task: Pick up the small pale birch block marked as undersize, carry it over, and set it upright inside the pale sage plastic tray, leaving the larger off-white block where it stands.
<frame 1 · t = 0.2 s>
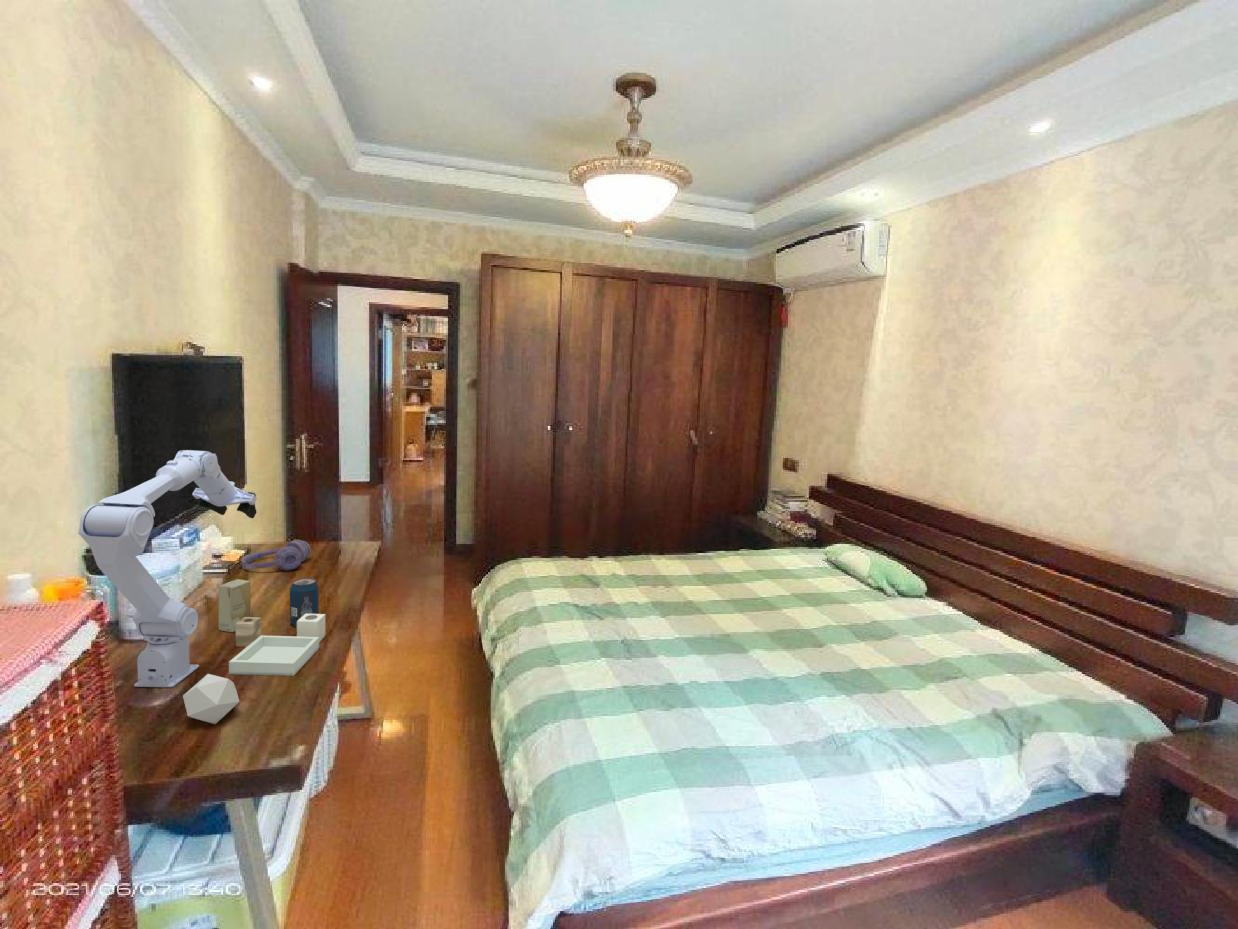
hand: (239, 513, 155), 31 cm above the table, tool tilted 45°, fingers open, 7 cm apart
birch block: (248, 643, 149), on the table
oversize block: (311, 639, 154), on the table
soda can: (304, 623, 163), on the table
headphones: (275, 566, 207), on the table
tray: (276, 660, 142), on the table
skincare box: (235, 627, 158), on the table
die: (212, 718, 118), on the table
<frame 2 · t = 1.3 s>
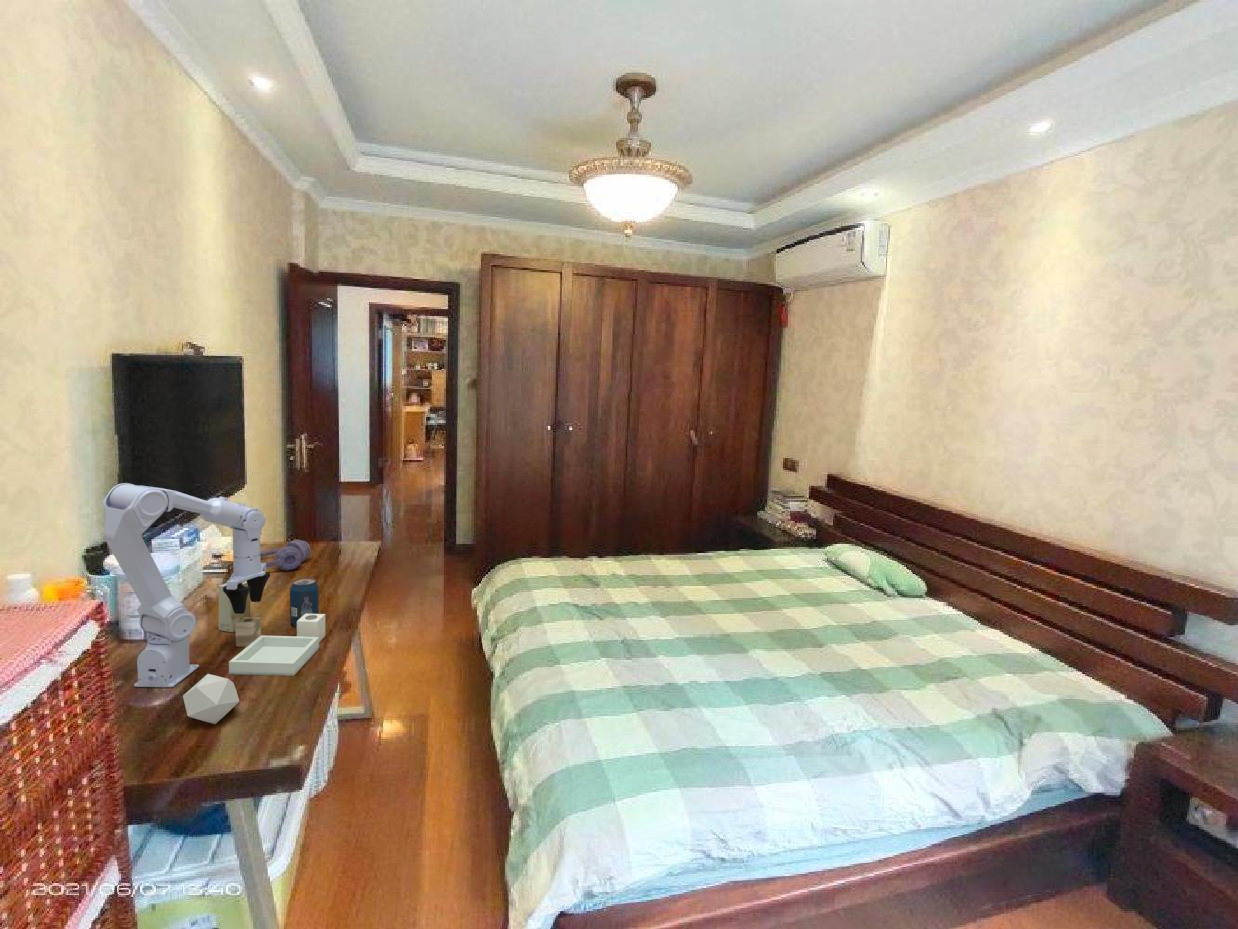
hand: (247, 607, 148), 9 cm above the table, tool pointing down, fingers open, 7 cm apart
nothing on the table moved.
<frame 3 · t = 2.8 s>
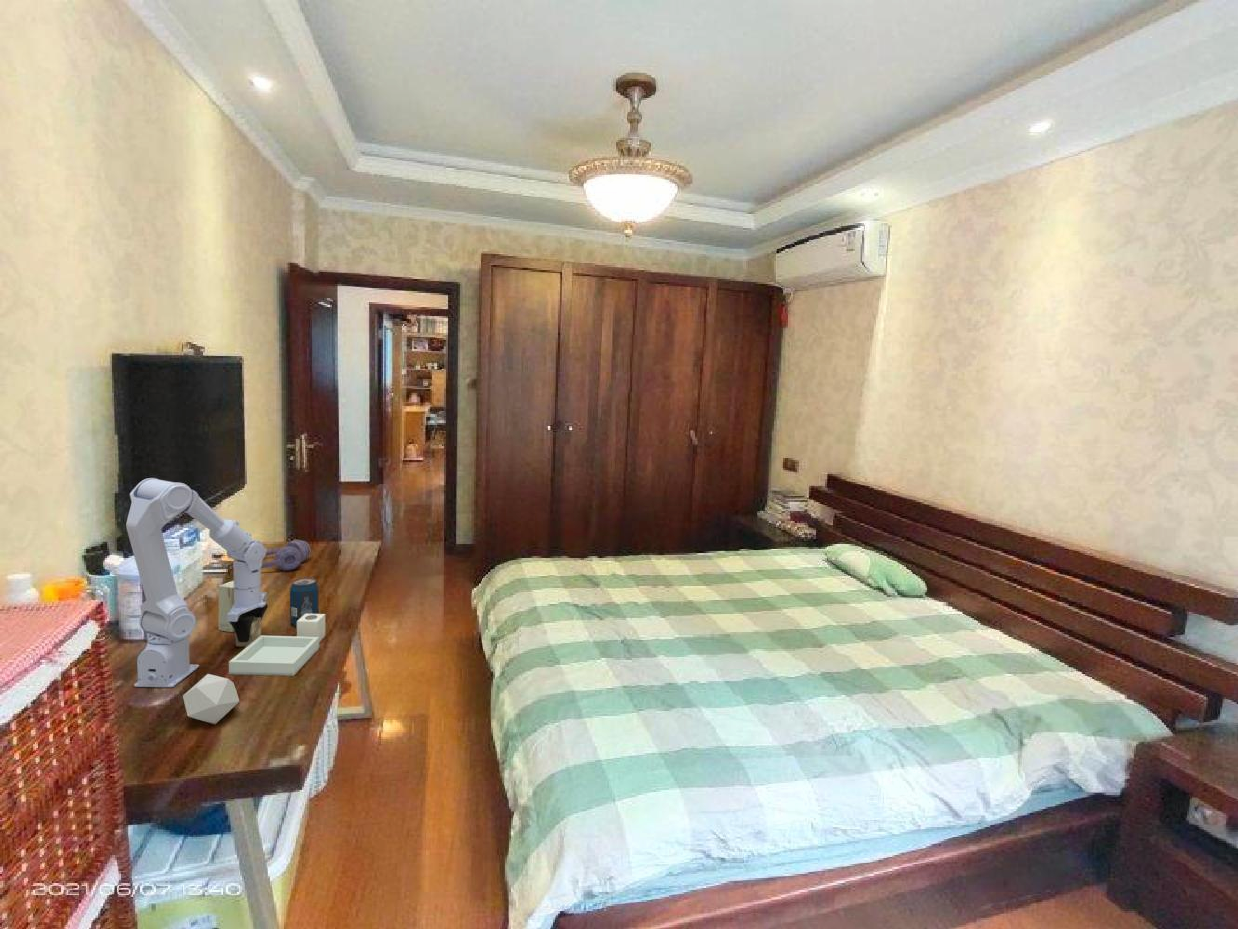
hand: (248, 637, 149), 1 cm above the table, tool pointing down, fingers closed on birch block, 4 cm apart
birch block: (248, 642, 149), on the table, touching gripper
everything else where it was.
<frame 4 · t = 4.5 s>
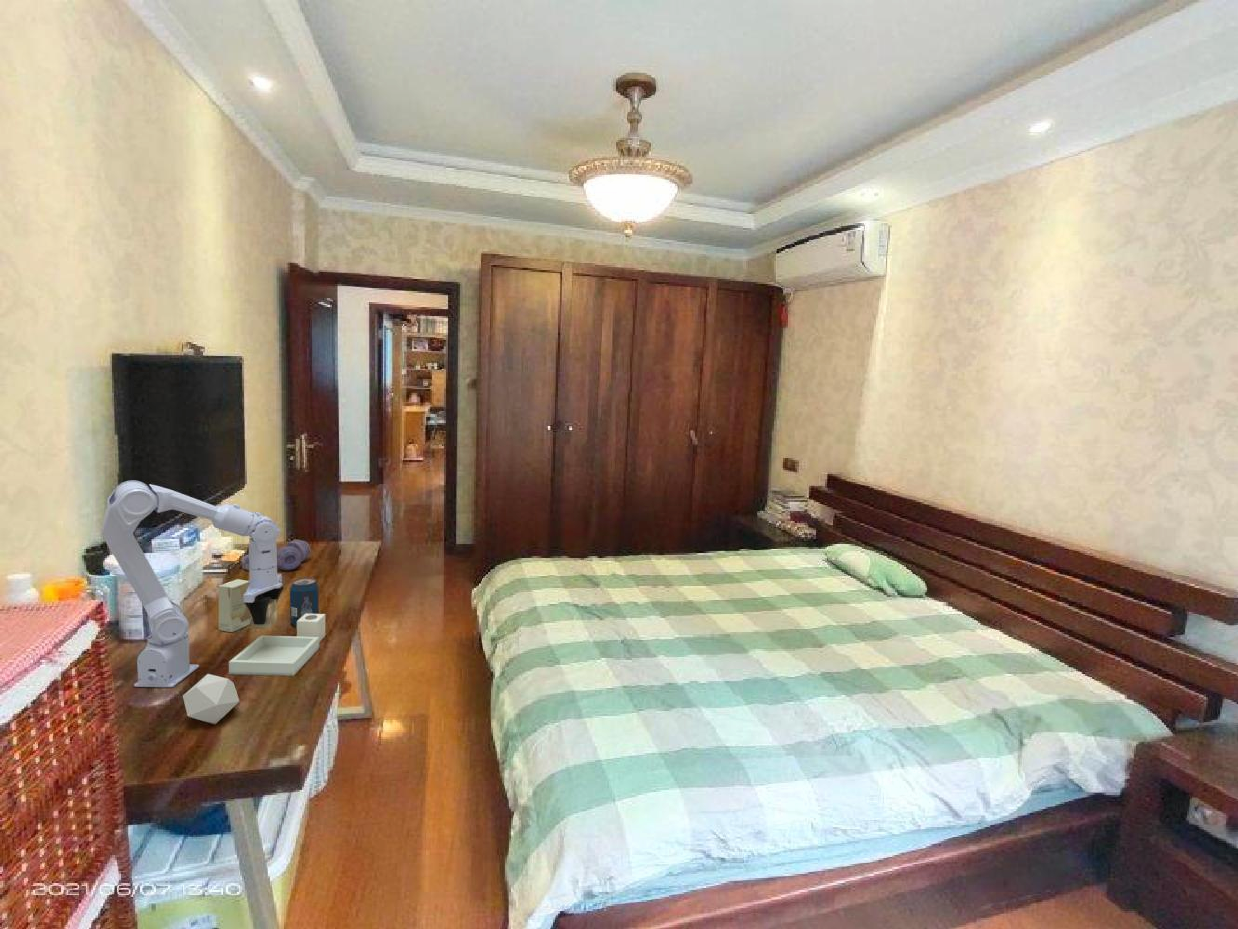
hand: (264, 620, 144), 8 cm above the table, tool pointing down, fingers closed on birch block, 4 cm apart
birch block: (264, 625, 144), point 7 cm above the table, touching gripper
everything else where it was.
when the fingers open (3 cm above the table, at t = 6.2 s): birch block drops 1 cm, resting on tray.
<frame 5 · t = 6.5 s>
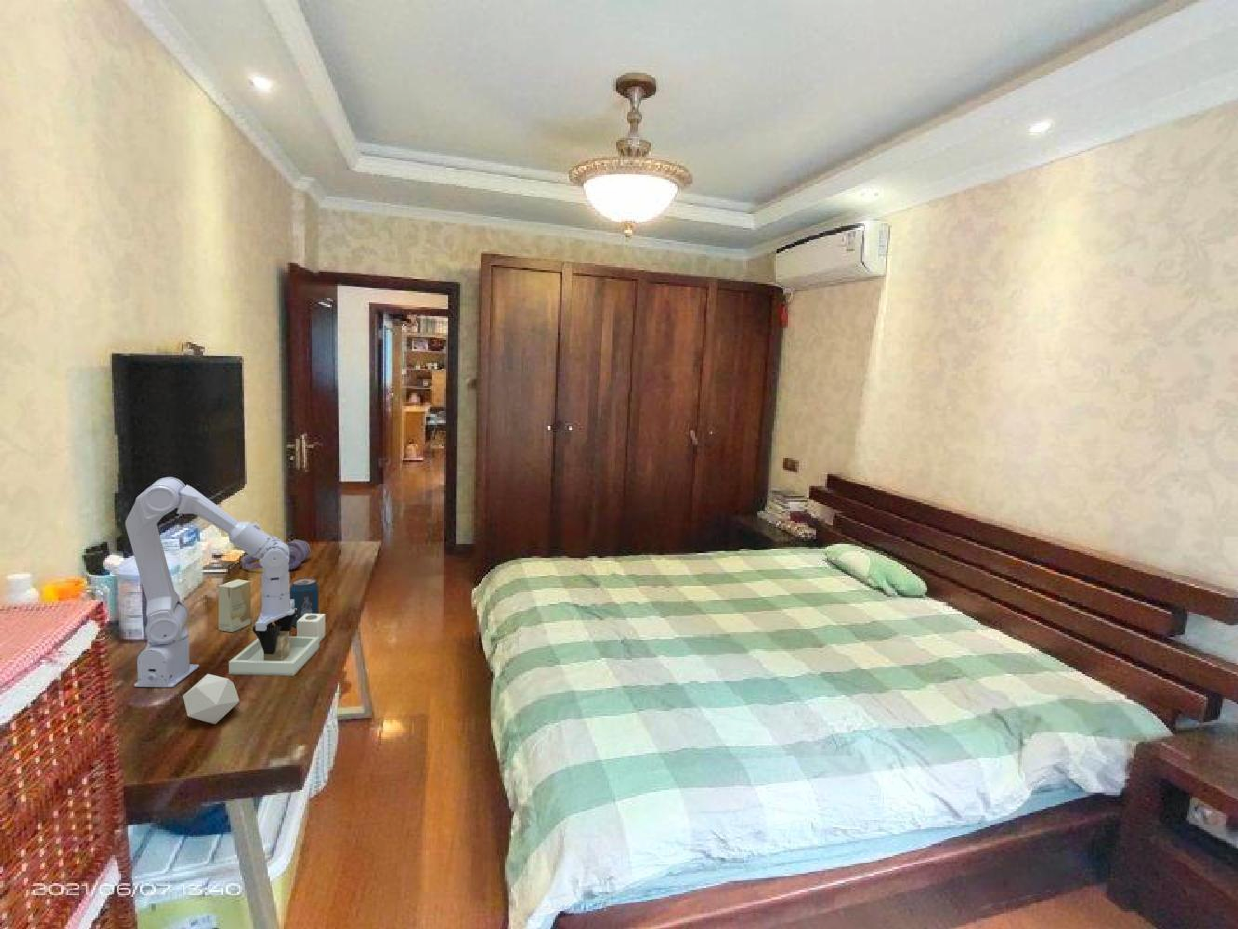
hand: (276, 647, 141), 3 cm above the table, tool pointing down, fingers open, 6 cm apart
birch block: (276, 658, 141), point 1 cm above the table, touching tray
everything else where it was.
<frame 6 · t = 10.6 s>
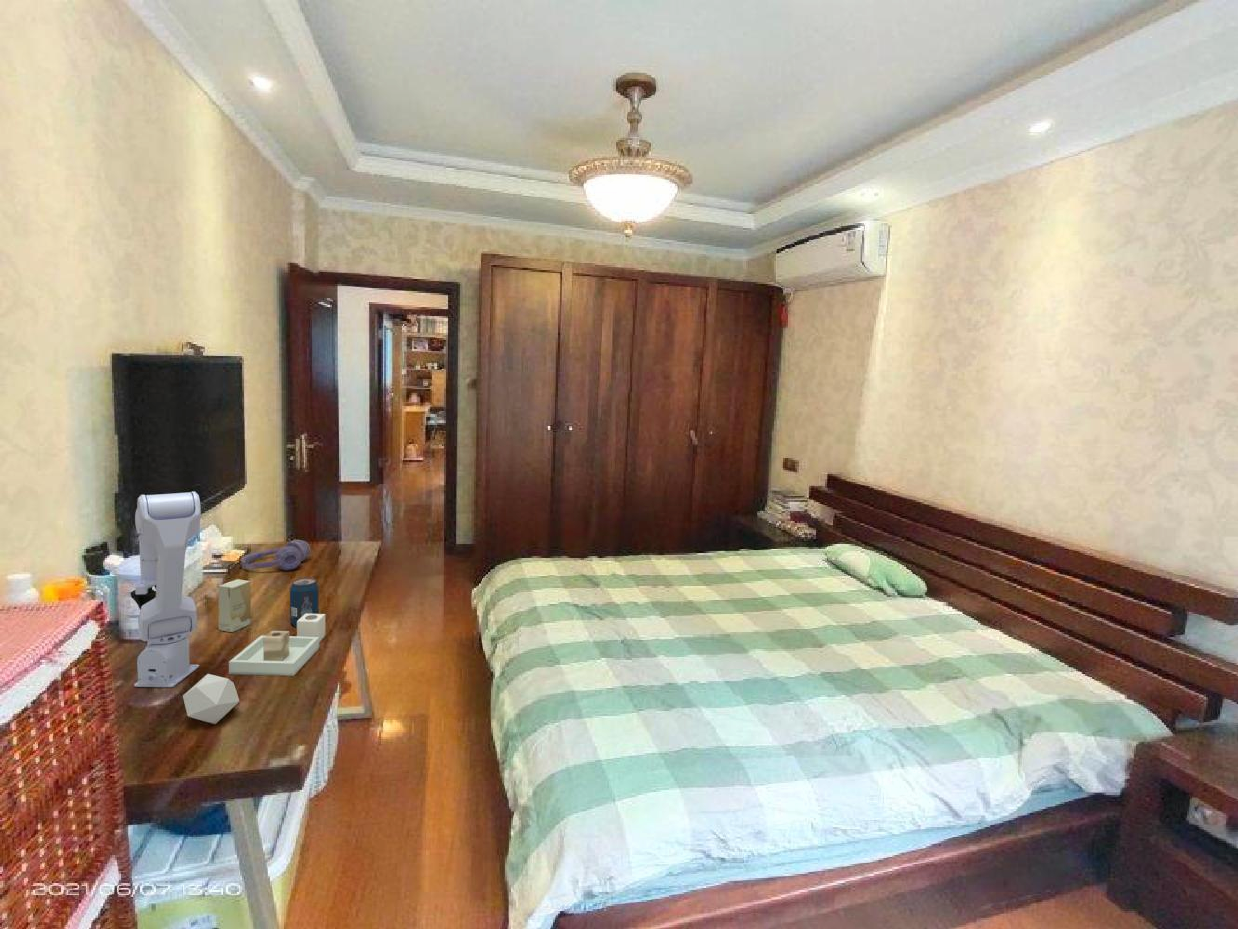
hand: (157, 612, 142), 9 cm above the table, tool pointing down, fingers open, 7 cm apart
nothing on the table moved.
at the end: birch block inside the target area on the tray (0.0 cm from its centre), point 0.6 cm above the tray's base; birch block tilted 0°; oversize block moved 0.1 cm from its start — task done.
